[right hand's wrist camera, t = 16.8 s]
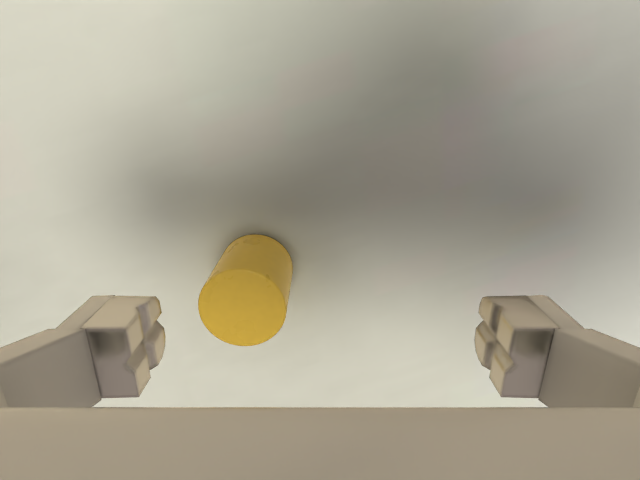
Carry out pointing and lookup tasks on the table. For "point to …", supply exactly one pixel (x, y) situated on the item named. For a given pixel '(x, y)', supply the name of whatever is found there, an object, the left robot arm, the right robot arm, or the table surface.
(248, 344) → the cylinder
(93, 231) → the table surface
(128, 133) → the table surface
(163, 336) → the right robot arm
